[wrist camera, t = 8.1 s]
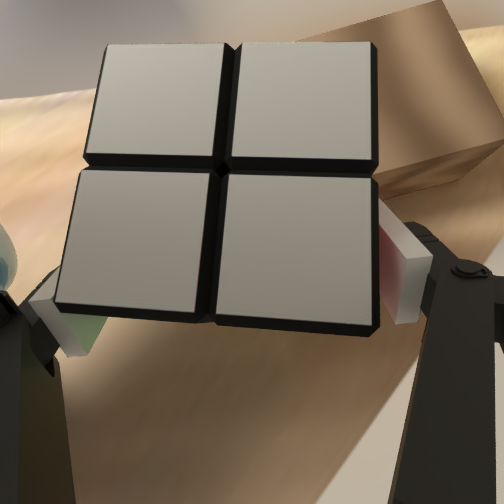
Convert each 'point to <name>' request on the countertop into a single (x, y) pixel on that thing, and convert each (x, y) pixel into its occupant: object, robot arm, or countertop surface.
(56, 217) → the countertop surface
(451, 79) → the walnut block
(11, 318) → the robot arm
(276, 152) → the puzzle cube
